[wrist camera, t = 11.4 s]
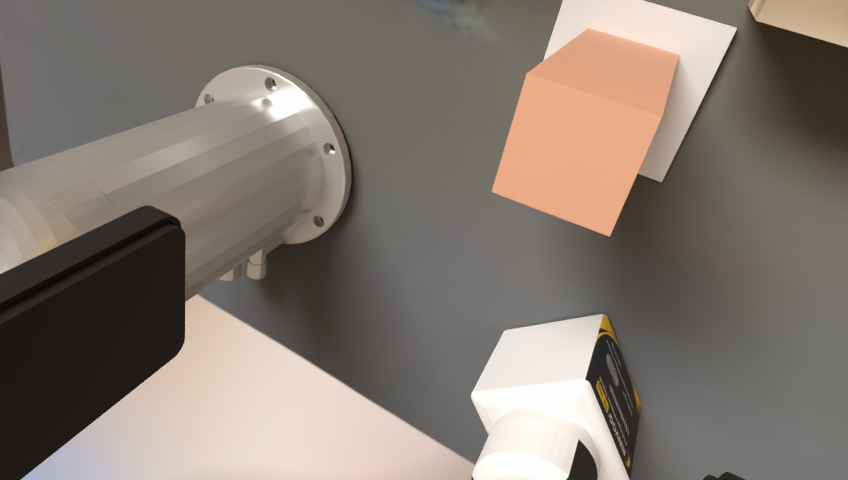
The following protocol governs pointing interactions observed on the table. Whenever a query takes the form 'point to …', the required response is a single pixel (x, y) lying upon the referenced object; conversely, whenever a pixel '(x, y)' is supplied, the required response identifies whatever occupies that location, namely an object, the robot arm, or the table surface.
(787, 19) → the beige square frame
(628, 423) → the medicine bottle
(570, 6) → the mat
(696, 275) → the table surface
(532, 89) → the plug
